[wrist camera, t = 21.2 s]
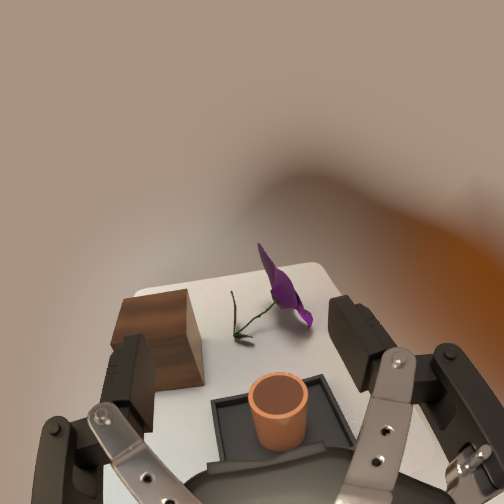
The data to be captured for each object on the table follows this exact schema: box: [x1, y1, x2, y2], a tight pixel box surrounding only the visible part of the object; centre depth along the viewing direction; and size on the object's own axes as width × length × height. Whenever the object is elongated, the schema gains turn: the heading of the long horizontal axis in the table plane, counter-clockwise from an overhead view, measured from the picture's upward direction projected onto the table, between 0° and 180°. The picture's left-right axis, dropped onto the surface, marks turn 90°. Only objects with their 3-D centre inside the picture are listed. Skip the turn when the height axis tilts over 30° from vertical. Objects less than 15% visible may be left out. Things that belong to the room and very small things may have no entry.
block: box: [110, 289, 204, 391], centre depth 44 cm, size 11×11×11 cm
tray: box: [211, 374, 356, 461], centre depth 33 cm, size 16×13×2 cm
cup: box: [248, 372, 308, 452], centre depth 31 cm, size 6×6×9 cm
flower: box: [231, 243, 313, 338], centre depth 50 cm, size 15×15×14 cm
